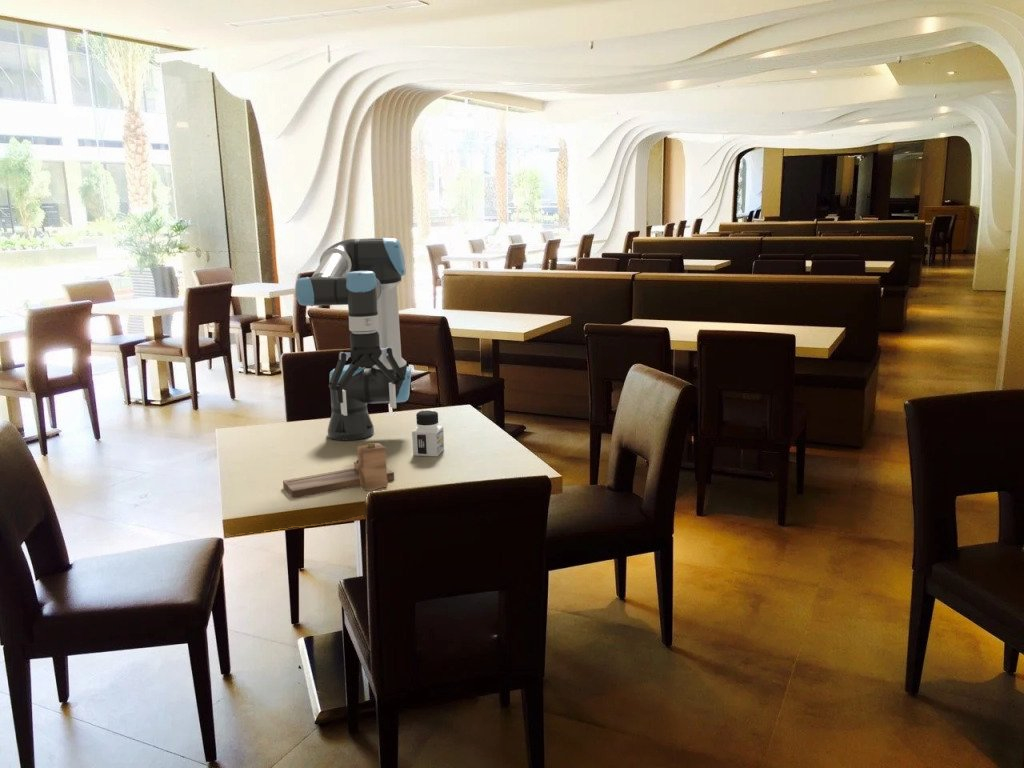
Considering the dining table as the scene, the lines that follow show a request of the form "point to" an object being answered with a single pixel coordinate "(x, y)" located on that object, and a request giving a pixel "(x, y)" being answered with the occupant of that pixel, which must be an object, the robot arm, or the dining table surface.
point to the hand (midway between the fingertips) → (369, 411)
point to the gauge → (371, 466)
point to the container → (427, 434)
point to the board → (325, 482)
